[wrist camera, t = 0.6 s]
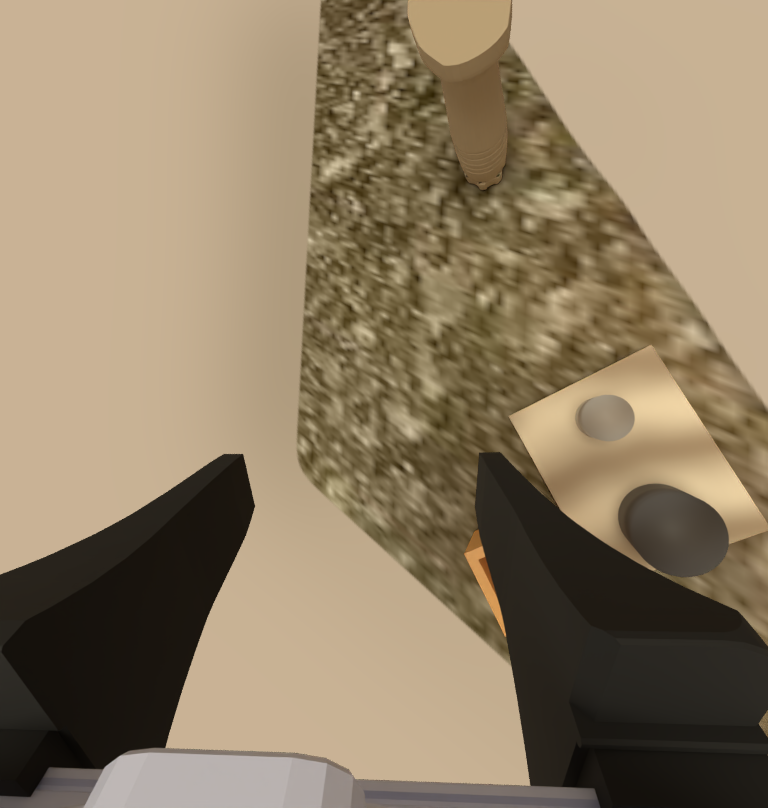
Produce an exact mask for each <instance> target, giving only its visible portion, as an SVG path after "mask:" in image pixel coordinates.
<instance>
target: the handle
mask: <svg viewBox="0 0 768 808" xmlns="http://www.w3.org/2000/svg"><path fill="white" fill-rule="evenodd" d="M408 18H409V23H410V27H411V30H412V33H413V36H414V40H415V42H416V45H417V48H418V51H419V53H420V56H421V58H422V60H423V62H424V64H425V65H426V66H427V67H428V68H429V69H430V70H431V71H432V72H433V73H434V74H436V75H437V76H438V77H440V78H441V83H442V89H443V94H444V99H445V105H446V110H447V116H448V122H449V127H450V133H451V137H452V141H453V144H454V148H455V151H456V154H457V157H458V160H459V162H460V164H461V167H462V169H463V171H464V175H465V177H466V179H467V181H468V182H469V183H473V184H475V185H477V186H478V187H479V188H480V190H486V189H487V188H488V187H489V186H490V185H493V184H498V183H499V182H500V181H501V179H502V169H503V167H504V166H505V162H506V154H507V117H506V110H505V103H504V97H503V91H502V84H501V78H500V71H499V64H498V60H499V59H500V57H501V56H502V55H503V54H504V52H505V51H506V49H507V48H508V45H509V38H510V31H511V20H512V0H408Z"/></svg>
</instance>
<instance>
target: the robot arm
mask: <svg viewBox="0 0 768 808" xmlns="http://www.w3.org/2000/svg"><path fill="white" fill-rule="evenodd" d="M254 508H255V504H254V500H253V496H252V491H251V487H250V483H249V478H248V474H247V469H246V465H245V460H244V456H243V454H224V455H222V456H220V457H218V458H217V459H215V460H213V461H212V462H210V463H209V464H207V465H206V466H204V467H203V468H202V469H200V470H199V471H197V472H196V473H194V474H193V475H191V476H190V477H188V478H187V479H185V480H184V481H183V482H181V483H180V484H178V485H177V486H175V487H174V488H172V489H171V490H169V491H168V492H166V493H165V494H163V495H161V496H160V497H158V498H157V499H155V500H153V501H152V502H150V503H149V504H147V505H146V506H144V507H142V508H141V509H139V510H138V511H136V512H134V513H133V514H131V515H129V516H127V517H126V518H124V519H122V520H120V521H119V522H117V523H115V524H113V525H111V526H109V527H107V528H105V529H104V530H102V531H100V532H98V533H96V534H94V535H92V536H90V537H88V538H86V539H83V540H81V541H79V542H77V543H75V544H73V545H70V546H68V547H66V548H64V549H62V550H60V551H58V552H55V553H54V554H51V555H49V556H46V557H44V558H41V559H39V560H37V561H34V562H32V563H29V564H27V565H25V566H22V567H19V568H16V569H14V570H11V571H9V572H6V573H3V574H1V575H0V808H768V755H767V754H768V737H767V736H766V734H765V733H764V732H763V730H762V729H761V727H760V726H759V724H758V723H759V722H760V720H761V719H762V717H763V716H764V714H765V713H766V711H767V710H768V646H767V645H766V644H765V642H764V641H763V640H762V639H761V637H760V636H759V635H758V634H757V632H756V631H755V630H754V629H753V628H752V627H751V625H750V624H749V623H748V622H747V621H746V619H745V618H744V617H743V616H742V615H741V614H740V613H739V612H738V611H737V610H735V609H732V608H730V607H728V606H726V605H723V604H721V603H719V602H717V601H714V600H712V599H710V598H708V597H705V596H703V595H701V594H699V593H696V592H694V591H692V590H690V589H687V588H685V587H683V586H681V585H679V584H677V583H675V582H673V581H671V580H669V579H667V578H665V577H663V576H662V575H660V574H658V573H656V572H654V571H652V570H650V569H648V568H646V567H645V566H643V565H641V564H639V563H637V562H636V561H634V560H632V559H630V558H629V557H627V556H626V555H624V554H622V553H621V552H619V551H617V550H616V549H614V548H612V547H611V546H609V545H608V544H606V543H604V542H603V541H601V540H600V539H598V538H597V537H595V536H594V535H593V534H591V533H590V532H588V531H587V530H586V529H584V528H583V527H581V526H580V525H579V524H577V523H576V522H575V521H573V520H572V519H571V518H569V517H568V516H567V515H566V514H564V513H563V512H562V511H561V510H560V509H558V508H557V507H556V506H555V505H554V504H552V503H551V502H550V501H549V500H548V499H547V498H546V497H544V496H543V495H542V494H541V493H540V492H539V491H538V490H537V489H536V488H535V487H534V486H533V485H532V484H531V483H530V482H529V481H528V480H527V479H526V478H525V477H524V476H523V475H522V474H521V473H520V472H519V471H518V470H517V469H516V468H515V467H514V466H513V465H512V464H511V463H510V462H509V461H508V460H507V459H506V458H505V457H504V456H503V455H502V454H501V453H500V452H493V453H479V464H478V476H477V489H476V501H475V509H476V516H477V523H478V529H479V535H480V539H481V543H482V547H483V550H484V554H485V557H486V561H487V564H488V567H489V571H490V574H491V578H492V581H493V585H494V588H495V592H496V595H497V599H498V602H499V605H500V609H501V614H502V618H503V622H504V627H505V632H506V638H507V643H508V649H509V654H510V660H511V665H512V671H513V677H514V683H515V688H516V694H517V700H518V706H519V713H520V719H521V725H522V732H523V738H524V744H525V751H526V758H527V765H528V772H529V779H530V785H531V786H519V785H493V784H467V783H440V782H416V781H414V782H413V781H389V780H364V779H355V778H354V776H353V775H352V773H351V772H350V771H349V769H347V768H345V767H343V766H340V765H339V764H337V763H335V762H332V761H330V760H329V759H327V758H323V757H317V756H311V755H305V754H299V753H285V752H256V751H228V750H200V749H199V750H198V749H170V748H165V747H166V743H167V739H168V735H169V732H170V729H171V725H172V722H173V719H174V715H175V712H176V709H177V705H178V702H179V699H180V695H181V693H182V689H183V686H184V683H185V680H186V677H187V674H188V671H189V668H190V665H191V662H192V659H193V656H194V653H195V650H196V647H197V645H198V642H199V639H200V636H201V633H202V631H203V628H204V625H205V622H206V620H207V617H208V615H209V613H210V610H211V608H212V606H213V603H214V601H215V599H216V597H217V595H218V592H219V591H220V588H221V587H222V584H223V582H224V580H225V578H226V576H227V574H228V572H229V570H230V568H231V566H232V564H233V562H234V560H235V557H236V555H237V553H238V551H239V549H240V547H241V544H242V543H243V540H244V538H245V536H246V533H247V530H248V527H249V524H250V521H251V518H252V514H253V511H254Z"/></svg>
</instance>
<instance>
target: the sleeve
mask: <svg viewBox="0 0 768 808" xmlns="http://www.w3.org/2000/svg"><path fill="white" fill-rule="evenodd" d="M464 554H465V556H466V558H467V560H468V562H469V564H470V567H471V569H472V571H473V573H474V575H475V577H476V579H477V581H478V583H479V585H480V587H481V589H482V591H483V593H484V595H485V597H486V599H487V601H488V603H489V605H490V607H491V609H492V611H493V613H494V615H495V617H496V619H497V621H498V623H499V625H500V627H501V629H502V631H503V633H504V635H505V636H506V632H505V627H504V622H503V618H502V614H501V609H500V605H499V602H498V599H497V595H496V592H495V588H494V585H493V581H492V578H491V574H490V571H489V567H488V564H487V561H486V557H485V554H484V550H483V547H482V543H481V539H480V535H479V529H478V530H476V531H474V533H473V536H472V538H471V540H470V542H469V544H468V546H467V549H466V551H465V553H464Z"/></svg>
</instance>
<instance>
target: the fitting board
mask: <svg viewBox="0 0 768 808" xmlns="http://www.w3.org/2000/svg"><path fill="white" fill-rule="evenodd" d="M509 418H510V420H511V421H512V423H513V425H514V427H515V429H516V430H517V432H518V434H519V436H520V438H521V439H522V441H523V443H524V445H525V447H526V448H527V450H528V452H529V454H530V456H531V458H532V459H533V461H534V463H535V465H536V467H537V468H538V470H539V472H540V474H541V476H542V477H543V479H544V481H545V483H546V485H547V486H548V488H549V490H550V492H551V494H552V495H553V497H554V499H555V501H556V503H557V504H558V506H559V508H560V510H561V511H562V512H563V513H564V514H566V515H567V516H568V517H569V518H571V519H572V520H573V521H575V522H576V523H577V524H579V525H580V526H581V527H583V528H584V529H586V530H587V531H588V532H590V533H591V534H593V535H594V536H595V537H597V538H598V539H600V540H601V541H603V542H604V543H606V544H608V545H609V546H611V547H612V548H614V549H616V550H617V551H619V552H621V553H622V554H624V555H626V556H627V557H629V558H630V559H632V560H634V561H636V562H637V563H639V564H641V565H643V566H645V567H646V568H648V569H650V570H652V571H654V570H659V571H661V572H663V573H666V574H669V575H673V576H678V577H693V576H698V575H702V574H705V573H707V572H709V571H711V570H713V569H714V568H715V567H717V566H718V565H719V564H720V563H721V561H722V560H723V559H724V557H725V555H726V553H727V550H728V546H729V544H731V543H734V542H736V541H739V540H742V539H745V538H748V537H751V536H754V535H756V534H759V533H762V532H765V531H768V524H767V522H766V520H765V519H764V517H763V516H762V514H761V513H760V511H759V510H758V508H757V507H756V505H755V504H754V502H753V500H752V499H751V497H750V496H749V494H748V493H747V491H746V490H745V488H744V487H743V485H742V483H741V482H740V480H739V479H738V477H737V476H736V474H735V473H734V471H733V470H732V468H731V467H730V465H729V463H728V462H727V460H726V459H725V457H724V456H723V454H722V453H721V451H720V450H719V448H718V447H717V445H716V443H715V442H714V440H713V439H712V437H711V436H710V434H709V433H708V431H707V430H706V428H705V427H704V425H703V423H702V422H701V420H700V419H699V417H698V416H697V414H696V413H695V411H694V410H693V408H692V406H691V405H690V403H689V402H688V400H687V399H686V397H685V396H684V394H683V393H682V391H681V390H680V388H679V386H678V385H677V383H676V382H675V380H674V379H673V377H672V376H671V374H670V373H669V371H668V370H667V368H666V366H665V365H664V363H663V362H662V360H661V359H660V357H659V356H658V354H657V353H656V351H655V350H654V348H653V346H652V345H650V346H648V347H646V348H644V349H642V350H640V351H638V352H636V353H634V354H632V355H630V356H628V357H626V358H624V359H622V360H620V361H618V362H616V363H614V364H612V365H610V366H608V367H606V368H604V369H602V370H600V371H598V372H596V373H594V374H592V375H590V376H588V377H586V378H584V379H582V380H580V381H578V382H576V383H574V384H572V385H570V386H568V387H566V388H564V389H562V390H560V391H558V392H556V393H554V394H552V395H550V396H548V397H546V398H544V399H542V400H540V401H538V402H536V403H534V404H532V405H530V406H528V407H526V408H524V409H522V410H520V411H518V412H516V413H514V414H512V415H510V416H509Z"/></svg>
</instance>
